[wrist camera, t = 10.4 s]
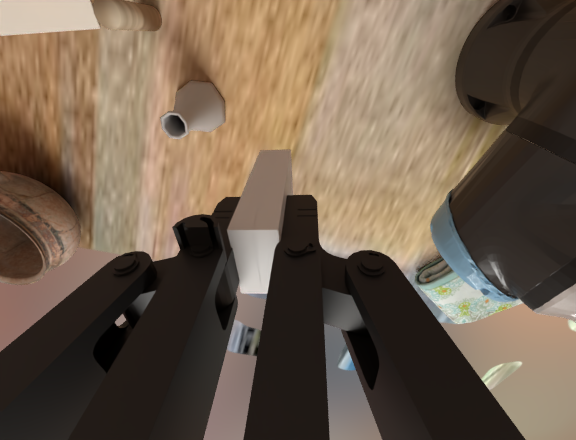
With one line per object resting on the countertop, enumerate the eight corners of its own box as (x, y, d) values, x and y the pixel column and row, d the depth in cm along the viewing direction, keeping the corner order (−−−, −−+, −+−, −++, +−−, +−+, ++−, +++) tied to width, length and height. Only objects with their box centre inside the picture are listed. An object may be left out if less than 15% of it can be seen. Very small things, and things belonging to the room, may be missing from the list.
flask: (233, 126, 41) (214, 149, 33) (189, 136, 42) (161, 160, 34) (216, 73, 37) (189, 84, 29) (168, 86, 38) (130, 100, 30)
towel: (554, 271, 53) (575, 291, 49) (449, 313, 62) (459, 333, 58) (520, 213, 47) (542, 231, 42) (408, 270, 56) (416, 289, 51)
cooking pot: (106, 261, 59) (65, 308, 49) (15, 240, 57) (-48, 284, 47) (89, 157, 45) (27, 192, 35) (-33, 125, 43) (-135, 152, 33)
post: (157, 4, 33) (113, -5, 26) (164, 30, 34) (124, 29, 27) (137, 5, 33) (88, -3, 26) (144, 31, 35) (100, 30, 27)
